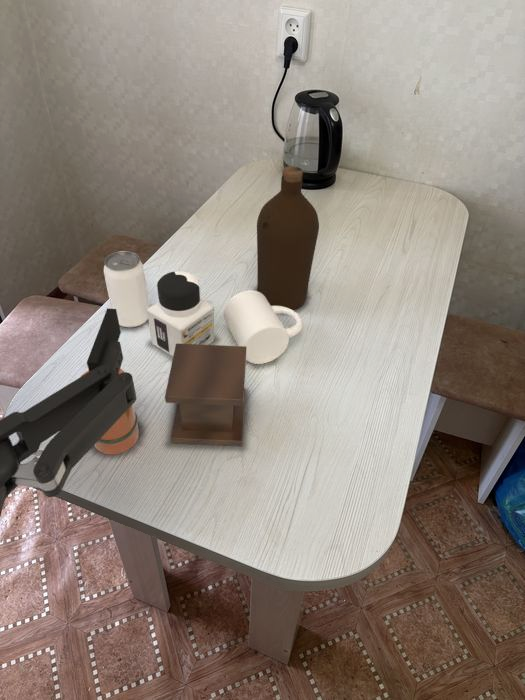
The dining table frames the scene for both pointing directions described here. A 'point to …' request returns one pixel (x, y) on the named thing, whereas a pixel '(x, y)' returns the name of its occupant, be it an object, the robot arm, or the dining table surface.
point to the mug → (259, 326)
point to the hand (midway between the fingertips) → (35, 316)
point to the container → (180, 313)
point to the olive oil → (286, 243)
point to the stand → (207, 394)
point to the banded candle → (120, 433)
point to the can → (127, 288)
